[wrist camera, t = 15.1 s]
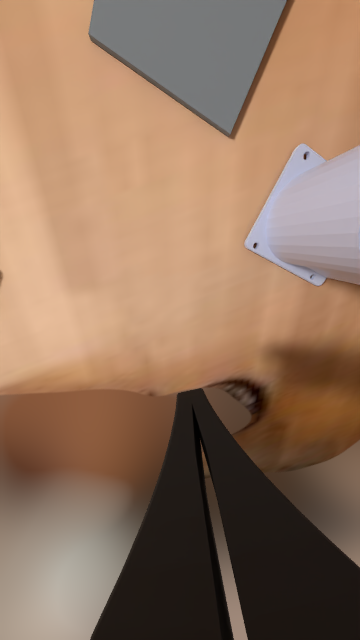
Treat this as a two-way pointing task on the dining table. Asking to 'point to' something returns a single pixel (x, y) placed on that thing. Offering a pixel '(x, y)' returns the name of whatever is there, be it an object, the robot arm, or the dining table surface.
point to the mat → (191, 48)
